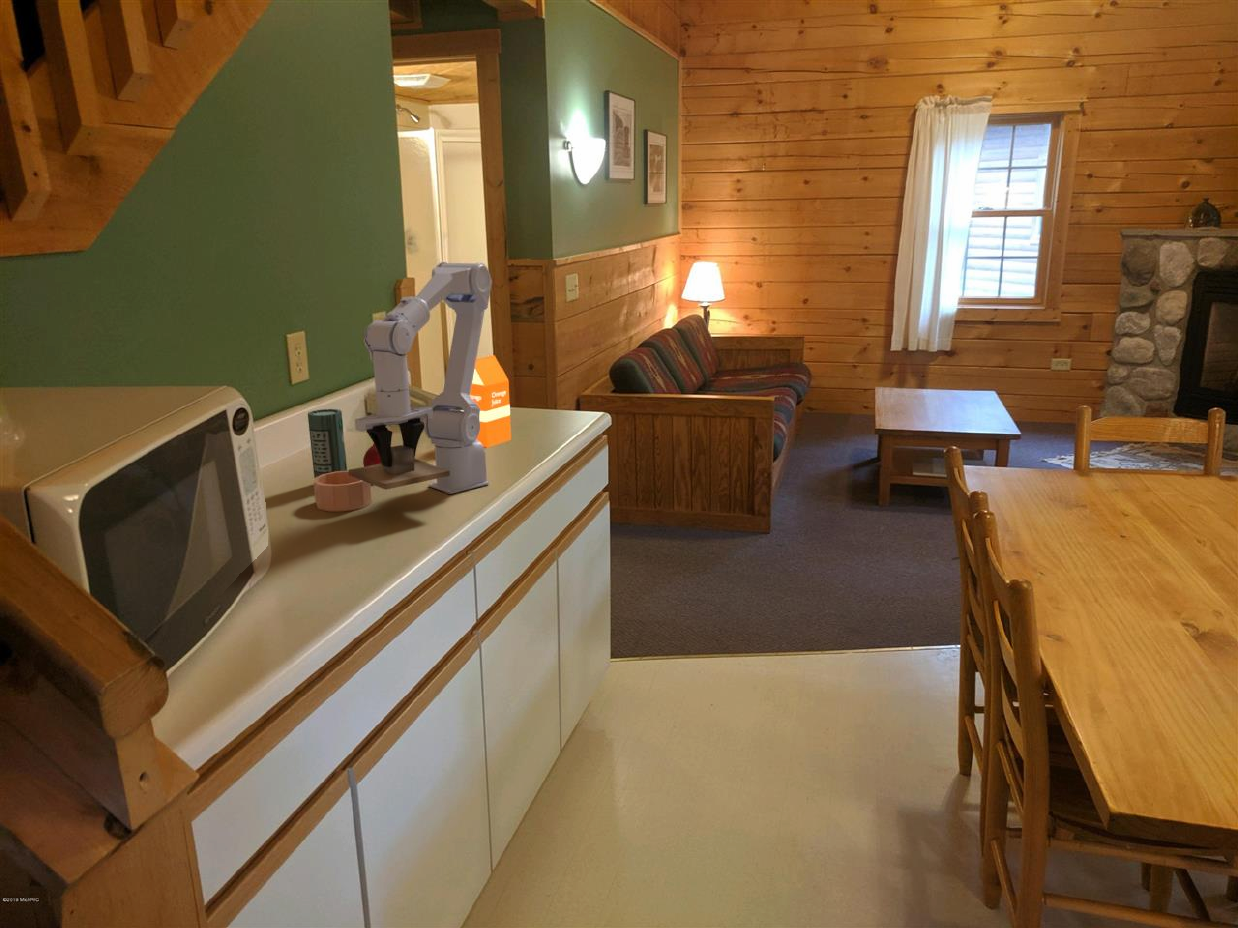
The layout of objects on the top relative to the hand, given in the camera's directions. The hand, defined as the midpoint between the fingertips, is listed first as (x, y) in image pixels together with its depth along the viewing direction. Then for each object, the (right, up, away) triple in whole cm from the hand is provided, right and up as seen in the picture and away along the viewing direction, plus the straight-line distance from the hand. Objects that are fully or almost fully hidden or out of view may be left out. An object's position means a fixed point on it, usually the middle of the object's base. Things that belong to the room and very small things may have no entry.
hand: (398, 463), depth 166 cm
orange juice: (+8, +5, +53) cm, 54 cm away
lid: (0, -2, +1) cm, 2 cm away
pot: (-12, -8, +8) cm, 17 cm away
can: (-18, -5, +20) cm, 27 cm away
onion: (-10, -3, +24) cm, 26 cm away
